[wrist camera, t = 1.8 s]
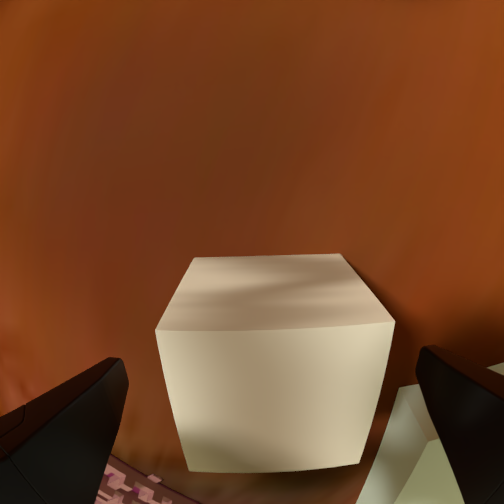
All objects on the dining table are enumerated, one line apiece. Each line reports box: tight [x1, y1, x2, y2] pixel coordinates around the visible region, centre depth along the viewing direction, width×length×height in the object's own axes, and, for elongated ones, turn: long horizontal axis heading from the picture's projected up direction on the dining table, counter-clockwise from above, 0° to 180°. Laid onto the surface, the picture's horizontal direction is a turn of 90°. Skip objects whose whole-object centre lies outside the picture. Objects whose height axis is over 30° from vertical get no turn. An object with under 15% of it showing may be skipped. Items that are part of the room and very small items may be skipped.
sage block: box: [356, 363, 504, 504], centre depth 13 cm, size 12×12×4 cm
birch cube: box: [155, 254, 395, 473], centre depth 9 cm, size 5×5×5 cm
